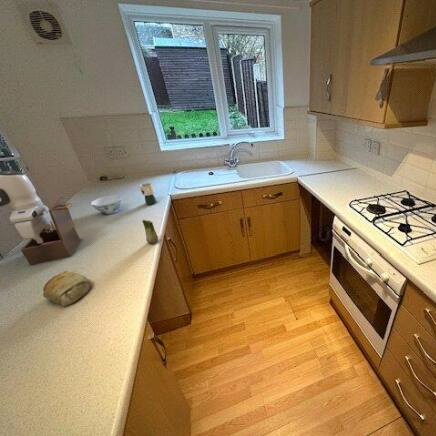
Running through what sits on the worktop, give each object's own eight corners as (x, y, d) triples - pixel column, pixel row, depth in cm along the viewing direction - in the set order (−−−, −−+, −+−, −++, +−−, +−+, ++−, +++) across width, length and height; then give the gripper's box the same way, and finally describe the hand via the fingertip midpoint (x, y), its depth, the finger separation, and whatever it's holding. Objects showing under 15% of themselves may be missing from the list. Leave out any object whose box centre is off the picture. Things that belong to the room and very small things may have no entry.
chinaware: (118, 204, 156) (114, 193, 153) (129, 210, 149) (125, 198, 145) (92, 213, 145) (86, 201, 142) (102, 219, 138) (97, 207, 134)
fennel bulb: (160, 242, 115) (153, 220, 110) (149, 246, 113) (141, 224, 107) (157, 238, 119) (150, 216, 114) (146, 241, 116) (138, 219, 111)
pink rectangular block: (41, 255, 106) (37, 248, 105) (45, 249, 110) (42, 243, 108) (61, 251, 109) (58, 244, 107) (65, 246, 112) (61, 239, 111)
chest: (30, 265, 101) (20, 249, 98) (45, 246, 114) (36, 232, 110) (70, 256, 106) (62, 241, 103) (80, 239, 119) (73, 225, 115)
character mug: (144, 202, 160) (138, 183, 154) (155, 199, 163) (150, 181, 157) (146, 207, 152) (140, 188, 146) (159, 204, 156) (153, 185, 150)
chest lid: (48, 210, 96) (62, 209, 98) (61, 197, 109) (73, 196, 111) (60, 241, 102) (73, 239, 104) (72, 225, 115) (83, 223, 117)
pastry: (56, 286, 90) (46, 269, 86) (96, 276, 94) (88, 260, 91) (39, 313, 79) (26, 296, 75) (85, 301, 83) (75, 284, 79)
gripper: (31, 201, 107) (46, 228, 113) (6, 220, 90) (25, 251, 97) (49, 199, 109) (62, 225, 116) (28, 217, 93) (46, 247, 99)
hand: (45, 237), depth 106 cm, fingers open, 8 cm apart
